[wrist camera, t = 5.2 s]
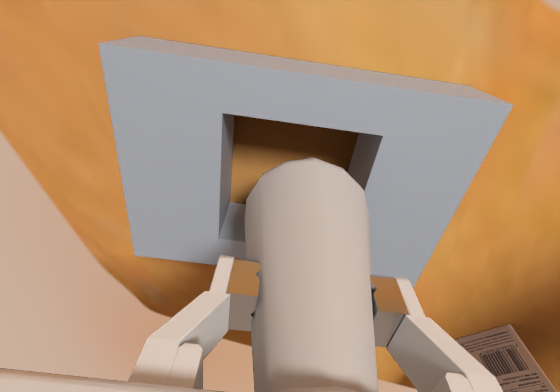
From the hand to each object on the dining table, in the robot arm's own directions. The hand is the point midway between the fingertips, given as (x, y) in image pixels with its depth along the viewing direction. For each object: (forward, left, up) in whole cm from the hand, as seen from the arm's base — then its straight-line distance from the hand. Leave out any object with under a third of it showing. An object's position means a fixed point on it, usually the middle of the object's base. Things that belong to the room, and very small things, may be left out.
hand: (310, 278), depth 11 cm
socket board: (+1, 0, -10) cm, 10 cm away
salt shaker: (0, 0, -6) cm, 6 cm away
